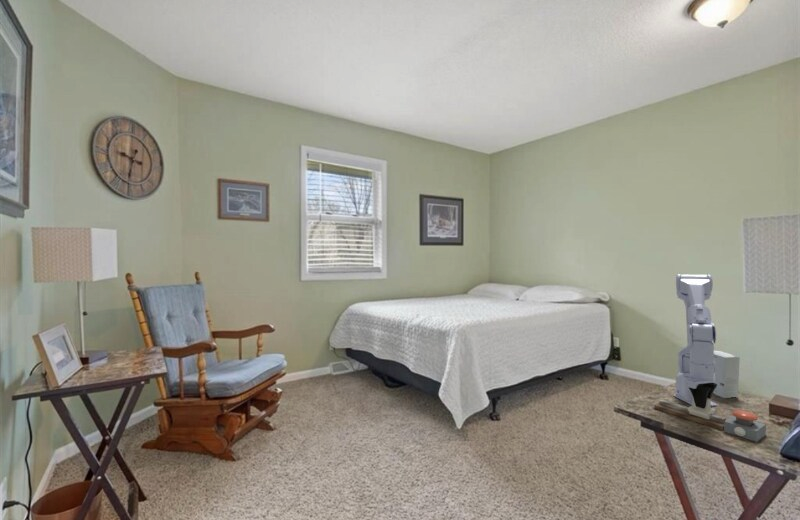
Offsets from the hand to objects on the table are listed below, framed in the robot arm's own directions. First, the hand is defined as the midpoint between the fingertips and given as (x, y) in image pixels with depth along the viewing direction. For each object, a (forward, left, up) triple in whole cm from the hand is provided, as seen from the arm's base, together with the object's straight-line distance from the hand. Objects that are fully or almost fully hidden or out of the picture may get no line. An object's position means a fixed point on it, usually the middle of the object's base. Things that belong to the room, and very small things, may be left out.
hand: (702, 406), depth 114 cm
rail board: (-3, -2, -4) cm, 5 cm away
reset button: (+9, +5, -2) cm, 10 cm away
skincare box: (-19, +23, -4) cm, 30 cm away
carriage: (0, 0, -3) cm, 3 cm away
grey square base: (+9, +5, -4) cm, 11 cm away
